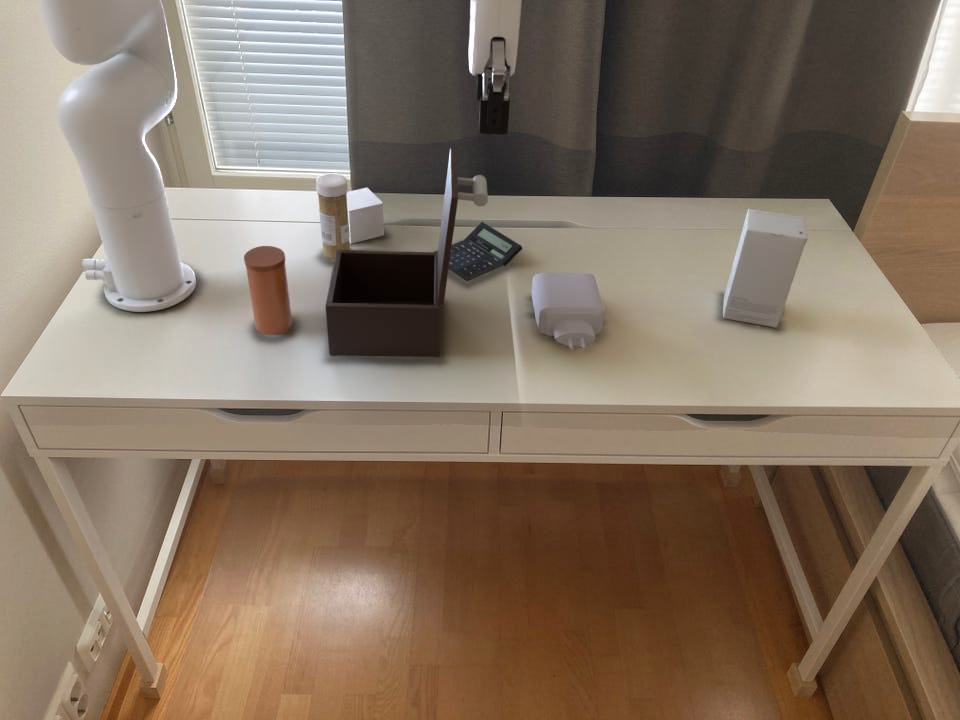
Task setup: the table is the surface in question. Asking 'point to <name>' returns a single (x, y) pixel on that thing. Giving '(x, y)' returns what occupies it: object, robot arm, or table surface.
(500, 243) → the calculator
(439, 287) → the lid
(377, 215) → the white cube
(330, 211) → the sprinkles bottle
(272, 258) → the tin
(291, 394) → the table surface
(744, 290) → the cosmetic box
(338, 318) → the dark wooden planter box
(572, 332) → the charger
